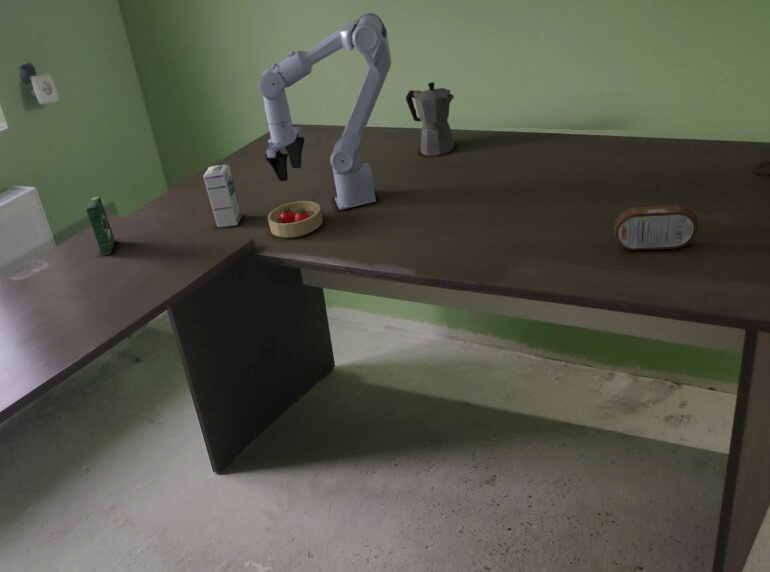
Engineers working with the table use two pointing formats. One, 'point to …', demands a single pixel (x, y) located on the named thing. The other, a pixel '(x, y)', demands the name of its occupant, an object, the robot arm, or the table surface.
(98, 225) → the coffee box
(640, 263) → the table surface
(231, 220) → the white carton
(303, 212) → the strawberry
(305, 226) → the bowl
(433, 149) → the coffeepot
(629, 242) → the tin
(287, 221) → the strawberry
